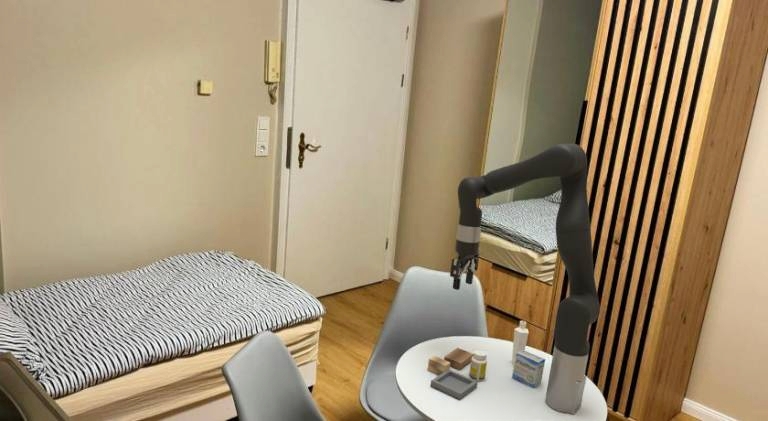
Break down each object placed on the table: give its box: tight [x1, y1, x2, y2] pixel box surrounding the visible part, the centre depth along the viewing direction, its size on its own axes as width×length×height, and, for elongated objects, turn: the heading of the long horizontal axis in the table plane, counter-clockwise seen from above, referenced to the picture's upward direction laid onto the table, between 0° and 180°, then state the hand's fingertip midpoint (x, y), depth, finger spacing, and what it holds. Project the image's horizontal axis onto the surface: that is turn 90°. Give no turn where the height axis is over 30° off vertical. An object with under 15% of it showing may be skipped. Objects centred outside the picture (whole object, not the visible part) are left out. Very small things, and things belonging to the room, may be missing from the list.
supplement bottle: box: [468, 349, 488, 382], centre depth 167 cm, size 5×5×8 cm
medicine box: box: [511, 350, 546, 389], centre depth 168 cm, size 8×4×9 cm, turn 47°
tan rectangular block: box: [427, 355, 451, 376], centre depth 169 cm, size 6×3×4 cm, turn 52°
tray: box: [430, 368, 479, 401], centre depth 161 cm, size 10×10×2 cm
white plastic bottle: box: [510, 320, 530, 366], centre depth 178 cm, size 5×4×15 cm
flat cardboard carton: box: [443, 347, 473, 372], centre depth 176 cm, size 6×9×3 cm, turn 144°
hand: (462, 286), depth 179 cm, fingers open, 8 cm apart
